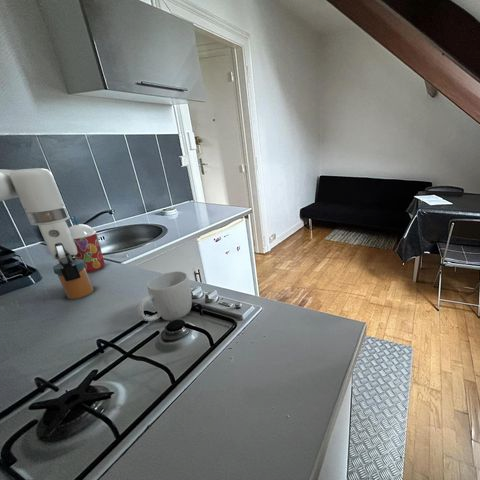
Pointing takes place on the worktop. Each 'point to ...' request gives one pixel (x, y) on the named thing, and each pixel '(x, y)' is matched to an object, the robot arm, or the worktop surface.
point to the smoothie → (87, 246)
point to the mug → (168, 296)
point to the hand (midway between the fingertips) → (73, 274)
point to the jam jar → (77, 285)
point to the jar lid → (77, 262)
